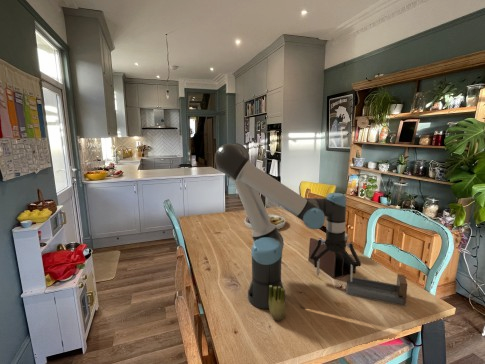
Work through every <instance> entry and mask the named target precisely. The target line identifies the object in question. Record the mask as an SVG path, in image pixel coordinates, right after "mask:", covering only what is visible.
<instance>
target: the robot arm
mask: <svg viewBox="0 0 485 364" xmlns="http://www.w3.org/2000/svg"><path fill="white" fill-rule="evenodd" d="M215 151H216V152H215V154H214V162H215V166H216V168H218V170H219V171H220V172H222V173H223V174H224V175H226V177H227V179H228V180H231V181H233V184H234V186H235V189H236V192H237V194H238V196H239V199H240V201H241V203H242V206H243V208H244V209H243V210H244V212H245V214H246V216H247V217H248V219H249V221H250V224H251V226H252V229H251V230H252V232H251V238H252V239H253V243H252V245H251V250H250V251H251V252H250V253H251V280H250V285H249V287H248V290H247V300H248V302H249V303H250V304H251V305H252V306H253V307H256V308H258V309H262V310H269V285H272V287H277V296H278V286H280V287H281V289H282V288H284V285H283V282H282V258H283V249H284V243H285V242H284V238H283V235H282V234H281V232H280V231H279V229H278V230H277V228H276V225H275V224H272V223H271V222H270V219H269V217H268V214H269V213H267V210H266V208H265V204H264V202H263V200H262V199H263V198H262V197H261V195H263V196H264V197H266V198H267V199H269V200H270V201H272V202H273V203H275V204H276V205H278V206H279V207H281V208H282V209H284V210H285V211H287V212H288V213H290V214H291V215H293V216H295V217H296V218H298V219H299V220H301V221H302V222H303V224H304V225H305V226H306V227H307V228H308V229H311V230H318V229H320V228H322V227H323V226H324V224H325V225H326V226H325V227H326V228H325V229H326V230H325V239H322V238H318V239H317V240H318V244H317V246H316V248H315V249H314V251H313V253H312V254H311V256H310V259H313V260H314V265H313V266H314V268H316V276H319V275H320V269H319V262H320V259H319V258H321V257H322V256H323V255H324V254H325V253H326V252H328V251H329V250H330V251H332V252H341V253H342V254H343V255H344V256H345V257H346V258H347V260H348V261H349V262H350V263H351V275H349V276H350V282H352V277H353V275H356V273H357V267H361V266H362V262H361V260H360V258H359V256H358V254H357V251H356V249H355V248H354V243H353V241H349V242H347V243H346V242H345V233H346V221H347V220H346V216H347V215H346V214H347V197H346V195H345V194H343V193H340V192H330V193H328V194H326V198H325V197H324V198H320V197H319V198H316V197H315V198H314V197H313V198H312V197H310V198H309V197H304V196H302V195H301V194H299V193H297V192H296V191H294V190H292V189H291V188H289V187H288V186H286V185H285V184H283V183H282V182H280V181H279V180H277V179H276V178H274V177H273V176H271V175H269V174H268V173H266V172H265V171H263V170H261V169H260V168H258V167H257V166H256V165H254V164H252V162H251V161H252V160H251V159H250V153H249V150H248V149H247V148H246V147H245V146H244V145H243V144H240V143H237V142H233V143H225V144H222V145H221V146H219V148H217V150H215ZM325 220H326V223H325ZM323 243H324V244H325V245H326V247H325V248H324V249H323V250H322V251H321V252H320V253H319V254H318V255H317V256H315V254H316V252H317V251H318V249H319V248H320V245H323ZM345 246H346V248H348V249H349V250H350V253H351V255H352V256H351V255H350V254H349V253H348V251H347V250H346V249H345V248H344V247H345ZM284 289H285V288H284ZM284 302H285V303H286V293H285V294H284Z"/></svg>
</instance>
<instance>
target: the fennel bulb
mask: <svg viewBox="0 0 485 364" xmlns="http://www.w3.org/2000/svg"><path fill="white" fill-rule="evenodd" d="M284 294H285V295H286V289H285V288H282V289H281V287H280V286H278V296H277V287H272V285H269V309H268V310H269V313H270V315H271V317H272V319H273V320H275V321H281V320H283V319H284V318H285V317H286V312H287V311H286V301H285V302H284Z"/></svg>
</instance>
